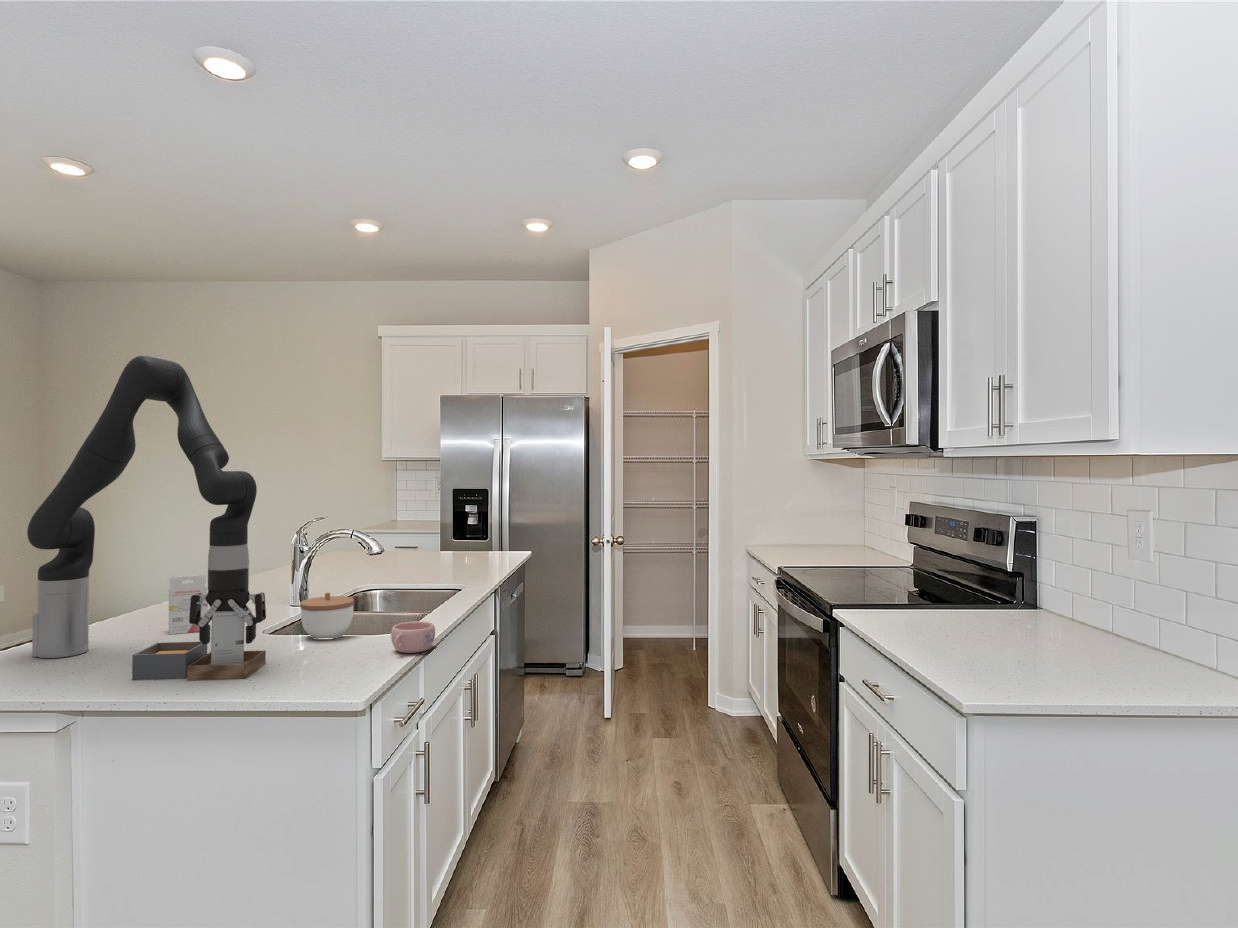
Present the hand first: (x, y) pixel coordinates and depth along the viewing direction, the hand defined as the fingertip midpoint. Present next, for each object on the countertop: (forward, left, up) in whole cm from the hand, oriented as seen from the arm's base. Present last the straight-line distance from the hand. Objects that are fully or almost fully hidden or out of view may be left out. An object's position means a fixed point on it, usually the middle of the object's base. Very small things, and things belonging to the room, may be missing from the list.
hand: (227, 643), depth 149 cm
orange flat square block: (-11, +1, -4) cm, 12 cm away
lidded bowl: (+13, +29, -6) cm, 32 cm away
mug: (+36, +12, -6) cm, 38 cm away
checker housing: (-11, +1, -6) cm, 13 cm away
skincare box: (0, 0, -5) cm, 5 cm away
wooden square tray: (0, 0, -6) cm, 6 cm away
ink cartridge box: (-24, +39, -6) cm, 46 cm away
